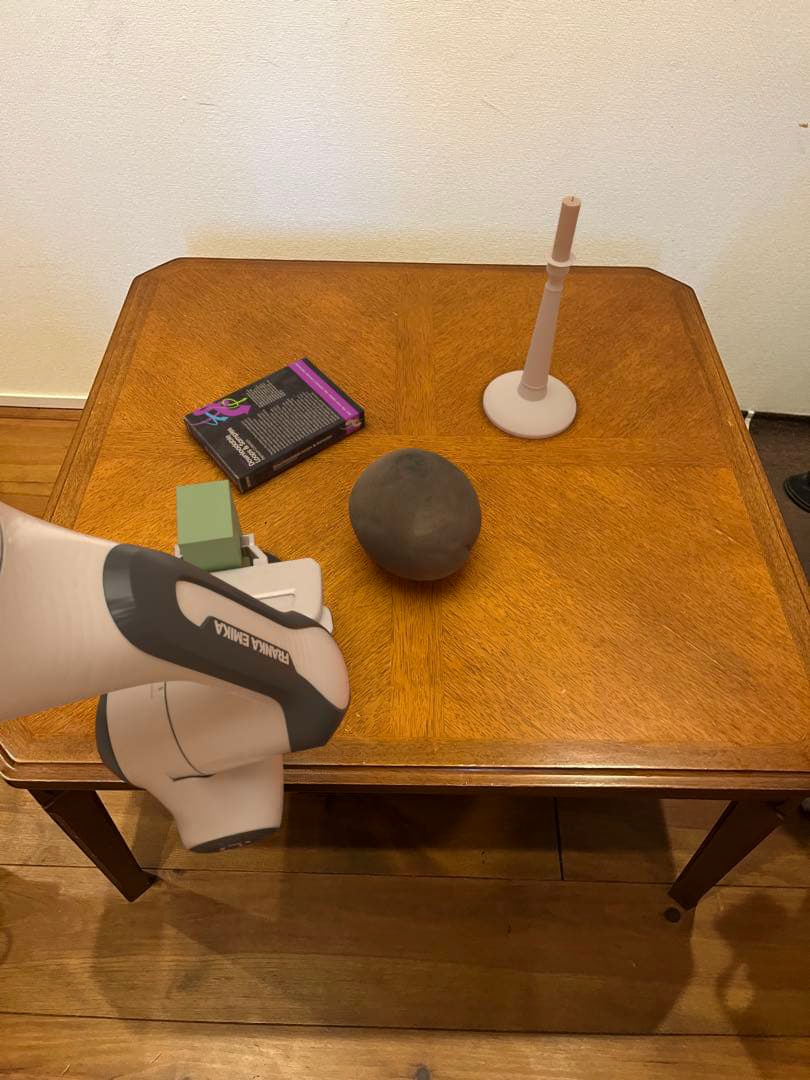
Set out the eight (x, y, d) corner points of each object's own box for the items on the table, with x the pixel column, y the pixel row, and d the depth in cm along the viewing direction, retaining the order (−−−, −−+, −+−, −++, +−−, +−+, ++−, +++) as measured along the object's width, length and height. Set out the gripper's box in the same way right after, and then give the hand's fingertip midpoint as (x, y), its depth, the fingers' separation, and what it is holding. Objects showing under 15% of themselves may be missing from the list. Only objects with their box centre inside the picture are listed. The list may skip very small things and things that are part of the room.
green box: (207, 621, 78) (177, 544, 67) (204, 567, 82) (175, 486, 71) (255, 613, 79) (233, 536, 67) (249, 560, 83) (228, 479, 71)
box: (308, 374, 106) (186, 432, 98) (306, 354, 103) (180, 412, 95) (366, 429, 99) (240, 495, 92) (366, 409, 96) (235, 476, 89)
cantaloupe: (447, 497, 92) (455, 409, 80) (493, 587, 84) (510, 506, 72) (339, 526, 89) (330, 441, 77) (376, 623, 81) (373, 544, 69)
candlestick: (470, 382, 105) (495, 173, 80) (554, 367, 107) (603, 159, 82) (501, 446, 97) (538, 238, 73) (590, 429, 99) (655, 221, 75)
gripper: (335, 628, 65) (315, 508, 73) (97, 667, 63) (102, 538, 71) (338, 660, 71) (319, 545, 79) (118, 698, 68) (121, 574, 76)
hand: (215, 542), depth 75 cm, fingers closed on green box, 5 cm apart
